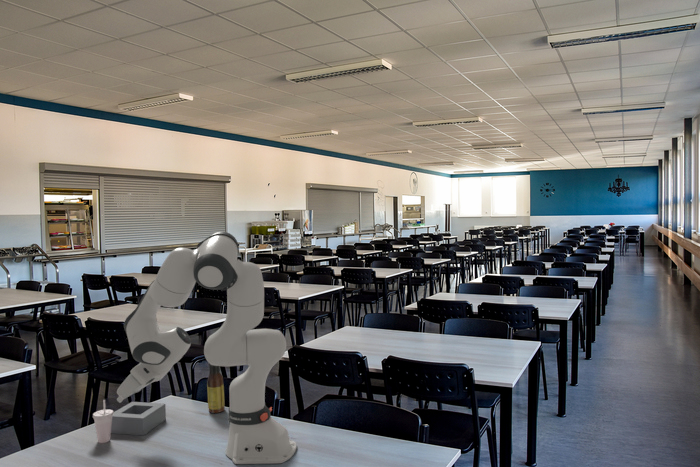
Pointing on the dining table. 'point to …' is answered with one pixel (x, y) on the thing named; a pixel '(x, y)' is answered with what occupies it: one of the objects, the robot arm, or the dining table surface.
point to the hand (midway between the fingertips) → (127, 395)
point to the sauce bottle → (215, 390)
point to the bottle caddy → (138, 418)
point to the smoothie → (103, 424)
